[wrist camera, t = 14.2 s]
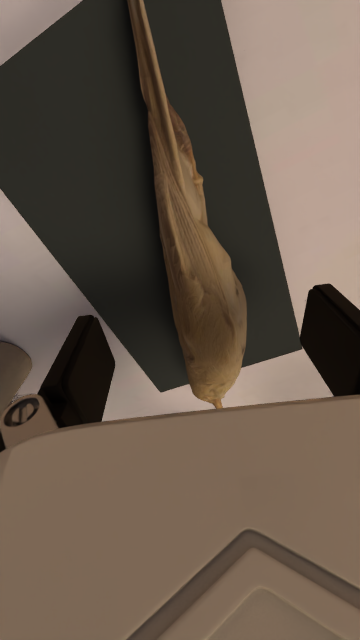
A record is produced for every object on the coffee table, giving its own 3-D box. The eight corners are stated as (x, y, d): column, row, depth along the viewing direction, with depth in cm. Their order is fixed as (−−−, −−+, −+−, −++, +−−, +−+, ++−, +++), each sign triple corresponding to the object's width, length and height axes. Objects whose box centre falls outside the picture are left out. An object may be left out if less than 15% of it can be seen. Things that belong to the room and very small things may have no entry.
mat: (-48, 114, 13) (-60, 113, 13) (198, -78, 10) (199, -94, 9) (160, 386, 26) (160, 392, 25) (299, 343, 23) (302, 349, 22)
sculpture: (262, -240, 5) (48, -146, 6) (250, 450, 18) (182, 447, 19) (241, -39, 10) (127, -5, 11) (243, 385, 23) (190, 385, 24)
